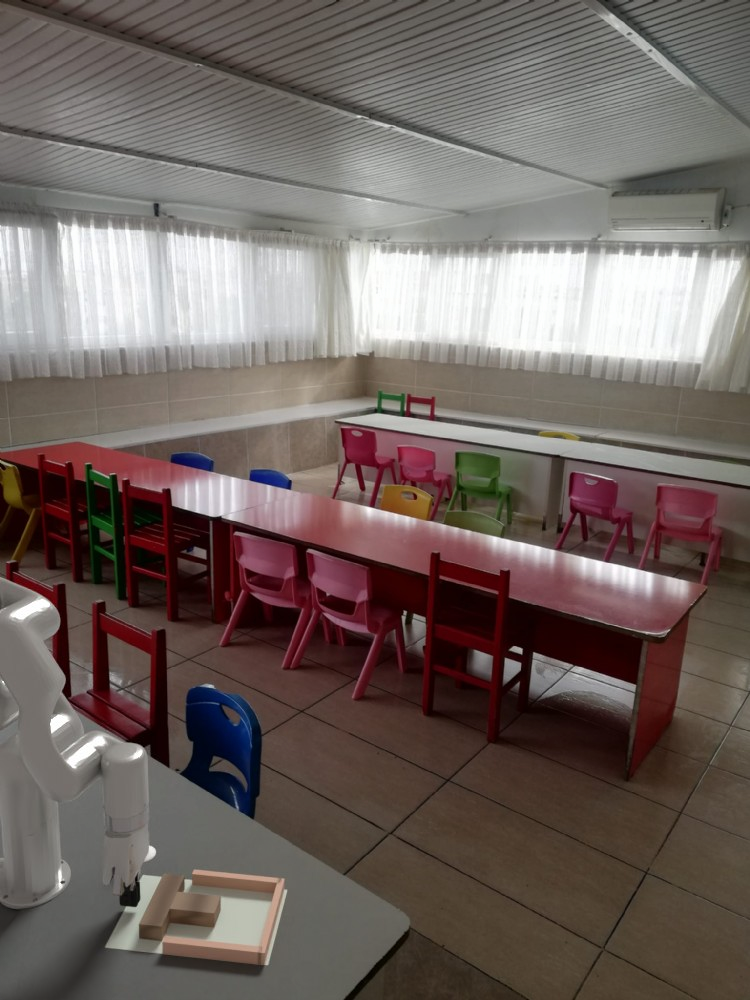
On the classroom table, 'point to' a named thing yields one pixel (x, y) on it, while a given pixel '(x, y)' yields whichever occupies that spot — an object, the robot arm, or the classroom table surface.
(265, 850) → the classroom table surface
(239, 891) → the mat
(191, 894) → the t block
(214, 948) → the pocket
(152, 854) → the chess piece
